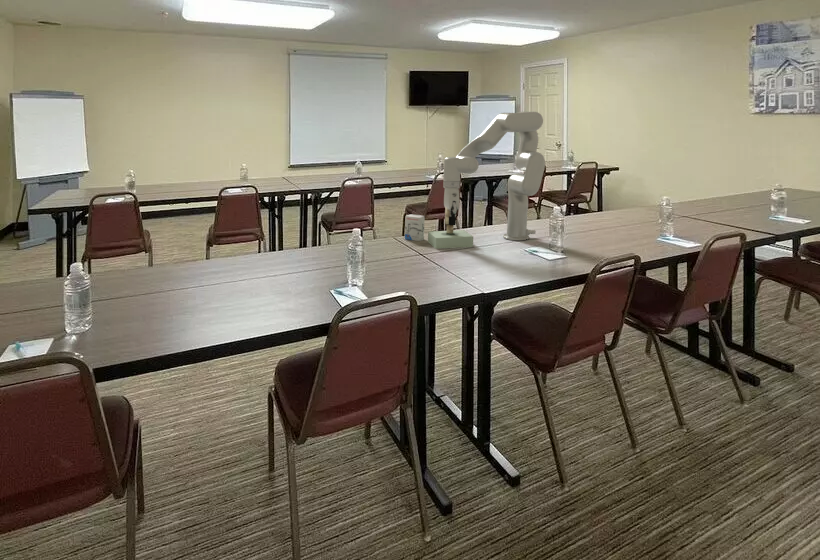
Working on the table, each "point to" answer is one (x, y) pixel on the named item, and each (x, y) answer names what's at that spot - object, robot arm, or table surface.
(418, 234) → the ink box
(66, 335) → the table surface
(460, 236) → the board
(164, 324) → the table surface
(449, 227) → the peg
